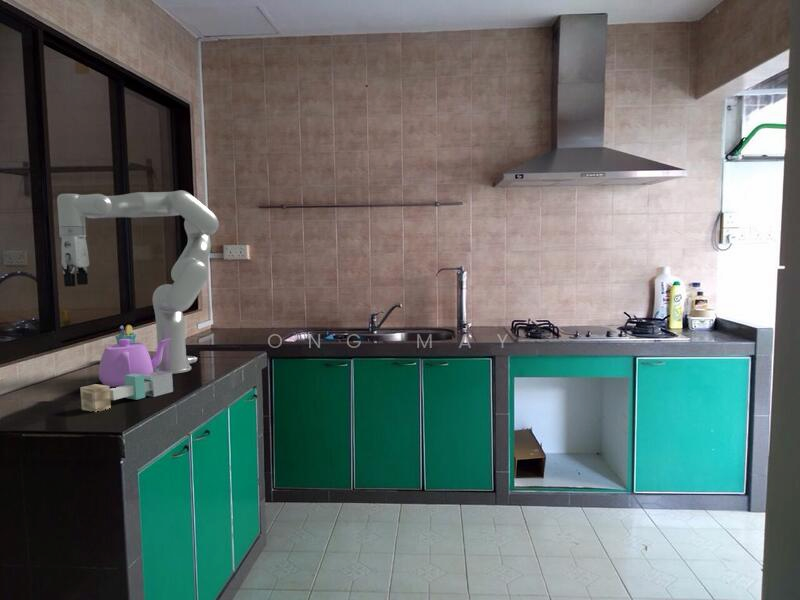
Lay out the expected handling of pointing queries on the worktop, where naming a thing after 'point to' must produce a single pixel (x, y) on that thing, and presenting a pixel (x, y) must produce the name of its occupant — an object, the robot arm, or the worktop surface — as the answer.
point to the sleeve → (159, 383)
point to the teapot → (127, 361)
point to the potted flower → (126, 334)
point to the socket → (95, 397)
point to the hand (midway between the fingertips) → (76, 285)
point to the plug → (131, 388)
